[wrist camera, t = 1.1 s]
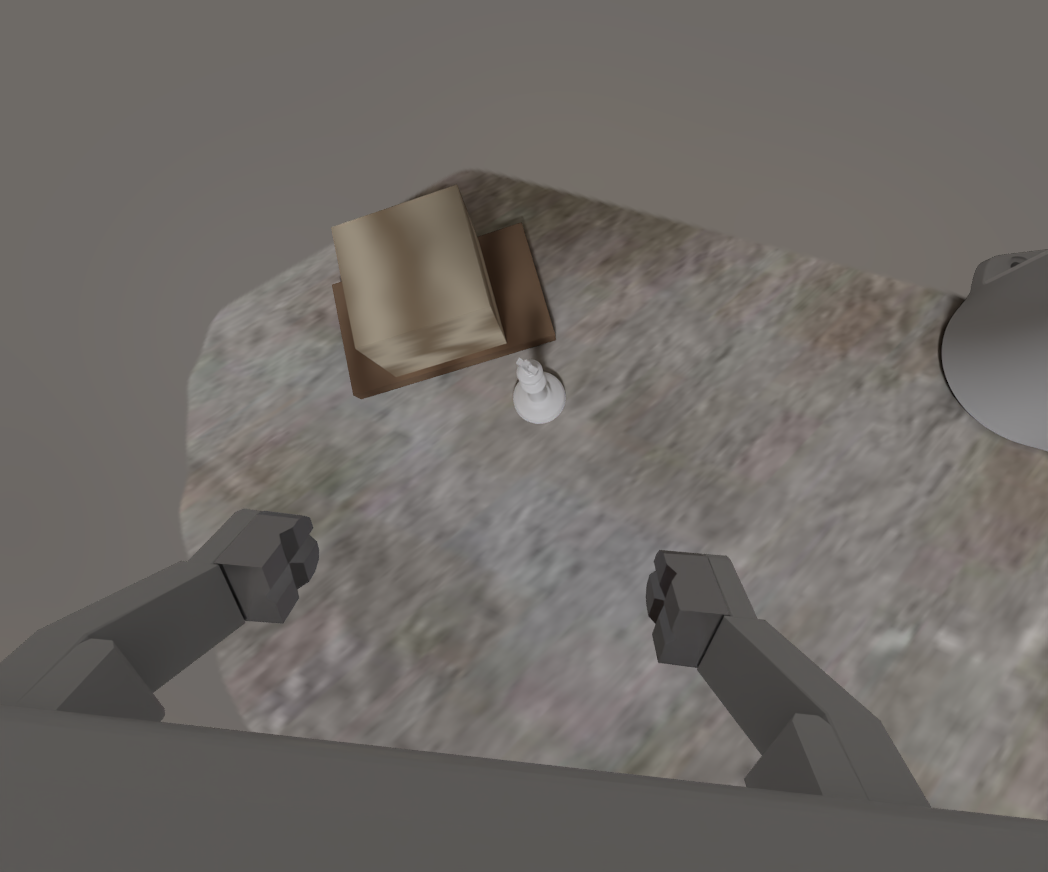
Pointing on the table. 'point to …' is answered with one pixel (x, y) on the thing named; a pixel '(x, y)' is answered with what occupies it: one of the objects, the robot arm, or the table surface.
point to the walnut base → (432, 293)
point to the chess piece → (537, 393)
